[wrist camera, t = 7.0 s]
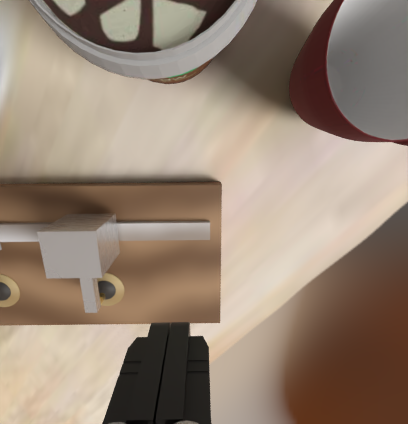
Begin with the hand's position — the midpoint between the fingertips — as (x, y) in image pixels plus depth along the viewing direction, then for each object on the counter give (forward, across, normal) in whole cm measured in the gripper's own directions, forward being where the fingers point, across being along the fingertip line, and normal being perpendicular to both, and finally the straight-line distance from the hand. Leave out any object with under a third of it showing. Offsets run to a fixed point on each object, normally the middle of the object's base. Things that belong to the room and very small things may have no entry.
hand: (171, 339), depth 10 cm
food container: (+15, +1, -14) cm, 20 cm away
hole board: (+15, +9, +4) cm, 18 cm away
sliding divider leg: (+12, +8, +3) cm, 15 cm away
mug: (+15, -12, -10) cm, 22 cm away
